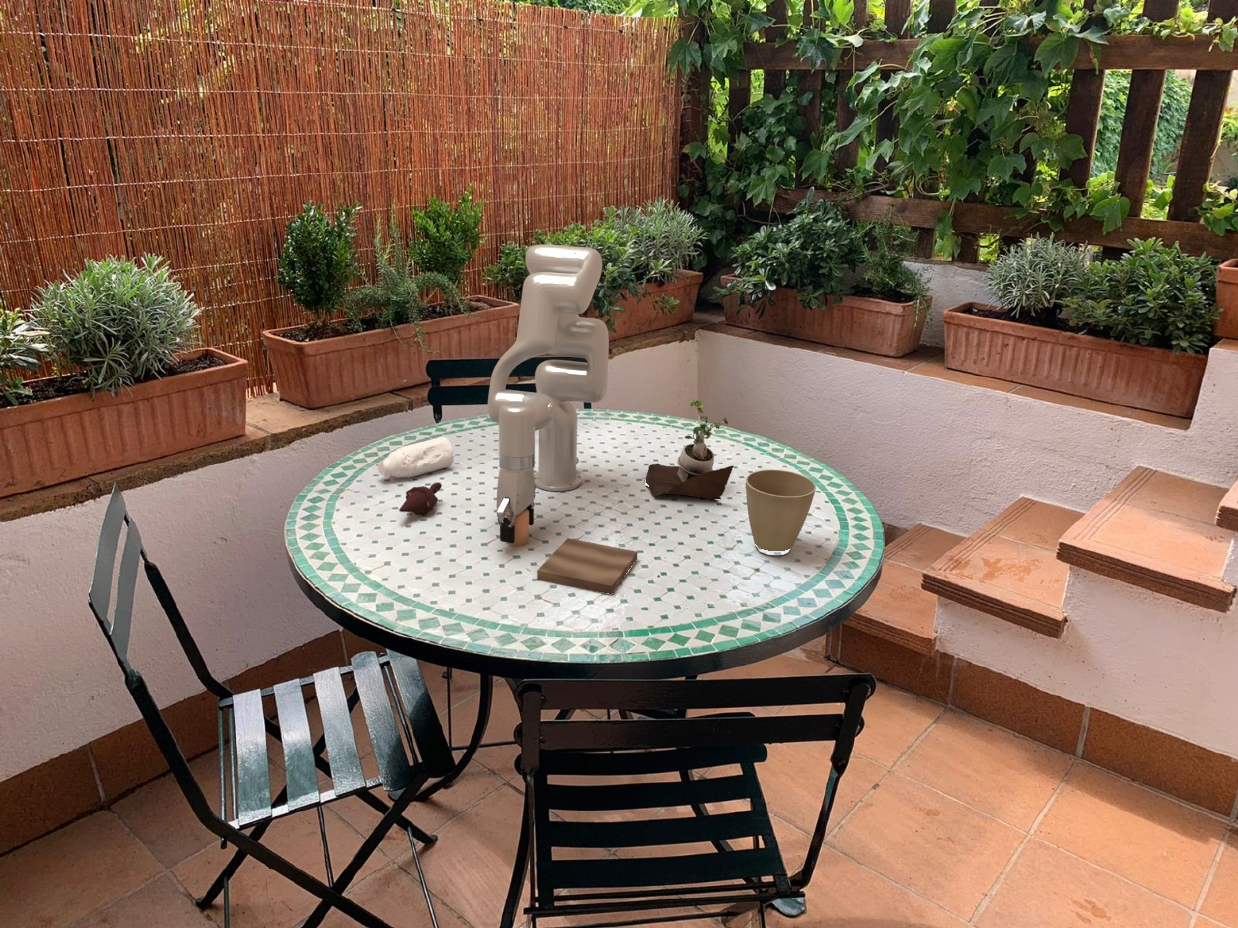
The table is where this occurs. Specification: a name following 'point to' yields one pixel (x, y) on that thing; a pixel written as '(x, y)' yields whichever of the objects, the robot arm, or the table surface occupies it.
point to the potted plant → (691, 468)
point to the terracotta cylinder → (520, 528)
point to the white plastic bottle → (418, 459)
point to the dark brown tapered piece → (421, 499)
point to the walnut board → (587, 565)
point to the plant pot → (777, 507)
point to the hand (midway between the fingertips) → (517, 532)
